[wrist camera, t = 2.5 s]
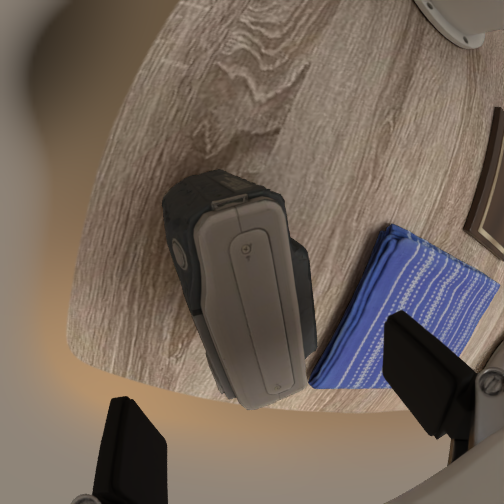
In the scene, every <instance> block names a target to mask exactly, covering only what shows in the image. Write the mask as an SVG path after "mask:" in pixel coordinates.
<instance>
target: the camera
mask: <svg viewBox="0 0 504 504" xmlns="http://www.w3.org/2000/svg"><path fill="white" fill-rule="evenodd" d="M162 207H163V217H164V225H165V231H166V240H167V245H168V247H169V250H170V253H171V256H172V259H173V262H174V266H175V268H176V271H177V273H178V276H179V279H180V281H181V285H182V289H183V293H184V296H185V299H186V302H187V305H188V308H189V310H190V313H191V315H192V318H193V321H194V323H195V326H196V328H197V330H198V333H199V335H200V338H201V340H202V342H203V345H204V347H205V350H206V357H207V361H208V364H209V367H210V369H211V372H212V374H213V376H214V379H215V381H216V384H217V387H218V390H219V391H220V393H221V394H223V393H225V394H226V396H227V397H228V399H233V398H237V400H238V401H239V403H240V404H241V405H242V406H243V407H244V408H246V409H247V410H255V409H259V408H261V407H264V406H267V405H270V404H272V403H275V402H277V401H279V400H281V399H283V398H286V397H288V396H290V395H293V394H295V393H297V392H300V391H302V390H303V389H304V388H305V387H307V376H306V365H305V359H306V358H307V357H308V356H309V355H310V354H311V353H312V352H314V351H316V349H317V347H318V346H317V331H316V320H315V310H314V299H313V291H312V281H311V271H310V261H309V257H308V252H307V250H306V249H305V248H304V247H303V246H302V245H301V244H299V243H298V242H297V241H295V240H294V239H292V238H291V237H290V233H289V229H288V220H287V214H286V209H285V200H284V199H283V197H282V196H281V194H278V193H275V192H273V191H270V189H266V188H265V187H264V186H261V185H256V184H255V183H251V182H249V181H247V180H246V179H242V178H240V177H238V176H234V175H232V174H230V173H227V172H226V171H224V170H220V169H218V170H214V171H209V172H206V173H202V174H199V175H192V176H189V177H187V178H185V179H184V180H182V181H180V182H179V183H177V184H176V185H174V186H173V187H172V188H171V189H170V190H169V191H168V192H167V193H166V194H165V195H164V197H163V200H162Z"/></svg>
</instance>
